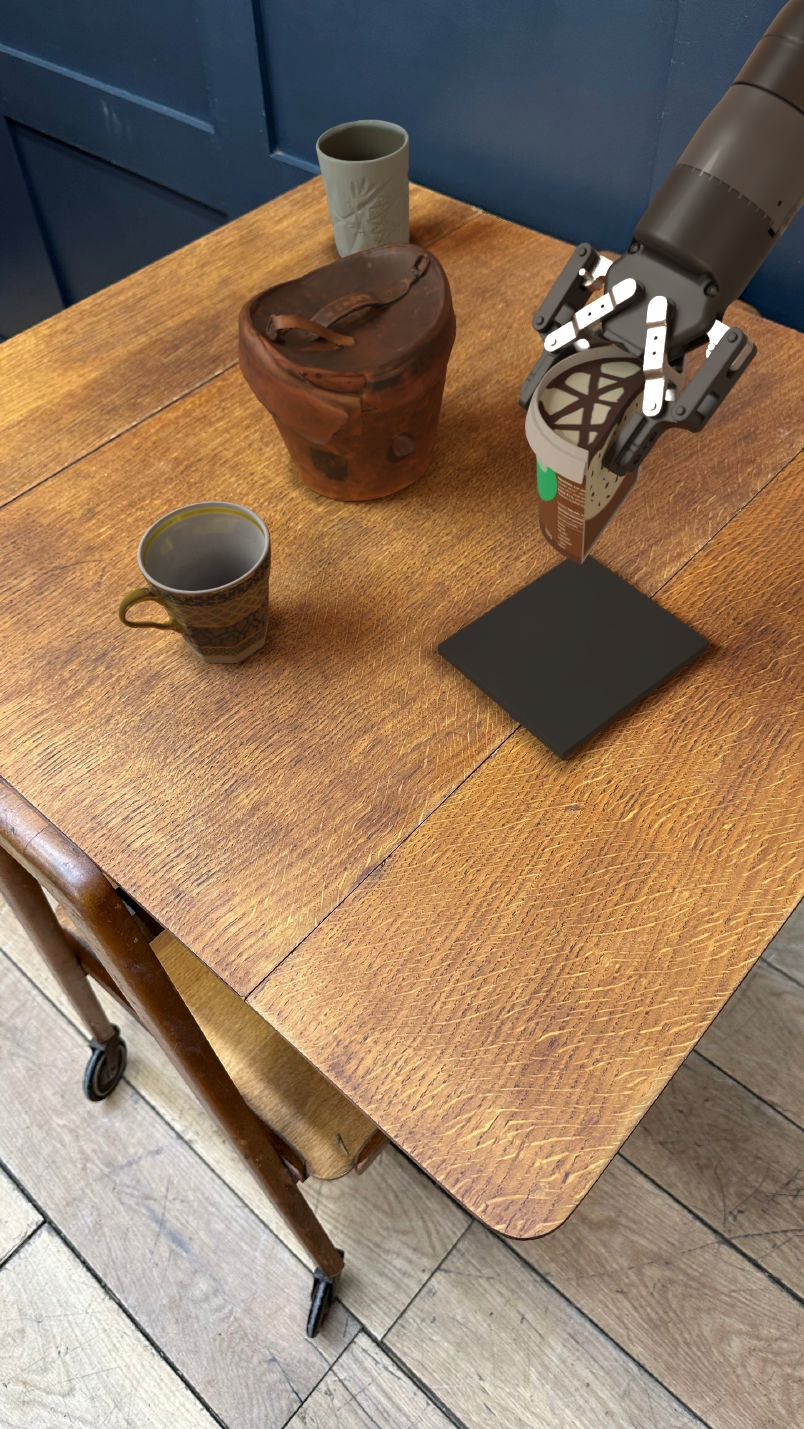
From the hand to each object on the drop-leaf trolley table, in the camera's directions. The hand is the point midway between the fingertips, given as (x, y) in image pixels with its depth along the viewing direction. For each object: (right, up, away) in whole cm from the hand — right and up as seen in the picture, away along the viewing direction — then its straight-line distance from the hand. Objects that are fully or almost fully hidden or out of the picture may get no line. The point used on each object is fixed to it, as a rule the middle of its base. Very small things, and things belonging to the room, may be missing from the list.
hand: (568, 440), depth 66 cm
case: (-15, +6, +32) cm, 35 cm away
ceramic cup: (-26, -12, +19) cm, 34 cm away
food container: (+1, -3, +6) cm, 7 cm away
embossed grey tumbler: (-14, +37, +55) cm, 68 cm away
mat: (+3, -13, +16) cm, 20 cm away
